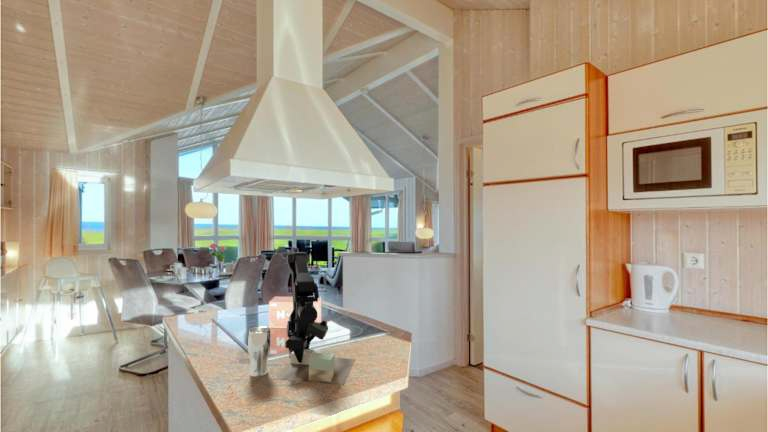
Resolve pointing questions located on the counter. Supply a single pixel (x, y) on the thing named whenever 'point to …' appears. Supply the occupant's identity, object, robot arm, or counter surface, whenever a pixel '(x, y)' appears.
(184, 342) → the counter surface
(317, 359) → the sage green block
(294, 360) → the cream block
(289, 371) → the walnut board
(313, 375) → the maple base block
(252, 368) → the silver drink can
